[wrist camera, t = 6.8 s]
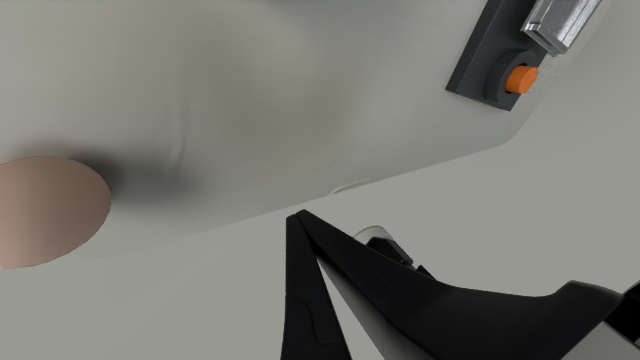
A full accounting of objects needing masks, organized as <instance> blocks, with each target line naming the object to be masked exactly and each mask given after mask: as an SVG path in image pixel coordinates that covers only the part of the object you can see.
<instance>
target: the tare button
mask: <svg viewBox="0 0 640 360" xmlns="http://www.w3.org/2000/svg"><path fill="white" fill-rule="evenodd" d="M537 74H538V69H537V68H536V67H529V66H517V67H516V68H515V69H514V70H513V71H512V73H511V75H510V76H509V78H508V80H507V83H506V87H505V90H506V91H510V92H515V93H520V94H522V93H525V92H526V91H527V90H528V89H529V88H530V87H531V86H532V84H533V83H534V81H535V79H536V77H537Z"/></svg>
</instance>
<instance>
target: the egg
mask: <svg viewBox="0 0 640 360" xmlns="http://www.w3.org/2000/svg"><path fill="white" fill-rule="evenodd" d="M110 206H111V194H110V191H109V188H108V185H107V184H106V182H105V181H104V180H103V178H102V177H101V176H100V175H99V174H98V173H96V172H95V171H94V170H92V169H91V168H89V167H88V166H86V165H84V164H82V163H79V162H76V161H74V160H70V159H65V158H60V157H47V156H37V157H29V158H20V159H16V160H12V161H9V162H6V163H2V164H0V268H2V269H7V268H8V269H15V268H22V267H31V266H36V265H39V264H43V263H47V262H50V261H52V260H54V259H56V258H59V257H61V256H63V255H66V254H68V253H70V252H71V251H73V250H74V249H76V248H78V247H79V246H81V245H82V244H84V243H85V242H87V241H88V240H89V239H90V238H91V237H92V236H93V235H94V234H95V233H96V232H97V231H98V230H99V229H100V227H101V226H102V224H103V223H104V221H105V219H106V217H107V215H108V213H109V211H110Z"/></svg>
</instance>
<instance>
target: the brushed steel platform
mask: <svg viewBox="0 0 640 360" xmlns="http://www.w3.org/2000/svg"><path fill="white" fill-rule="evenodd" d="M601 1H602V0H537V1H536V3H535V4H534V6H533V8H532V10H531V12H530V13H529V15H528V17H527V19H526V20H525V22H524V24H523V26H522V28H521V29H520V32H521V33H523V34H524V35H525V36H526V37H528V38H529V39H530V40H532V41H533V42H534V43H535V44H537V45H538V46H539V47H540V48H542V49H543V50H544V51H545V52H547V53H548V54H549V55H551V56H552V57H556V56H557V54H565V53H566V51H567V50H568V49H570V47H571V46H572V44H573V43H574V41H575V40H576V38H577V37H578V35H579V34H580V32H581V31H582V29H583V28H584V26H585V25H586V23H587V22H588V20H589V19H590V17H591V16H592V14H593V13H594V11H595V10H596V8H597V7H598V5H599V4H600V2H601Z"/></svg>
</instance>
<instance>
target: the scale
mask: <svg viewBox="0 0 640 360" xmlns="http://www.w3.org/2000/svg"><path fill="white" fill-rule="evenodd" d="M536 1H537V0H488V2H487V4H486V7H485V9H484V11H483V13H482V15H481V17H480V19H479V21H478V23H477V25H476V27H475V29H474V31H473V33H472V35H471V38H470V40H469V42H468V44H467V46H466V48H465V50H464V52H463V54H462V56H461V58H460V60H459V62H458V64H457V66H456V69H455V71H454V73H453V75H452V77H451V79H450V81H449V83H448V85H447V87H446V90H448V91H451V92H454V93H457V94H460V95H462V96H465V97H468V98H471V99H474V100H477V101H480V102H482V103H485V104H488V105H491V106H494V107H497V108H500V109H503V110H507V111H511V109H512V108H513V106H514V104H515V103H516V101H517V100H518V98H519V97H520V95H521V94H520V93H515V92H510V91H506V90H505V87H506V83H507V80H508V78H509V76H510V75H511V73H512V71H513V70H514V69H515V68H516V67H517V66H529V67H536V68H538V66H539V65H540V63H541V62H542V60H543V59H544V57H545V55H546V54H547V52H545V51H544V50H543V49H542V48H540V47H539V46H538V45H537V44H535V43H534V42H533V41H532V40H530V39H529V38H528V37H526V36H525V35H524V34H523V33H521V32H520V29H521V28H522V26H523V24H524V22H525V20H526V19H527V17H528V15H529V13H530V12H531V10H532V8H533V6H534V4H535V3H536Z"/></svg>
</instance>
